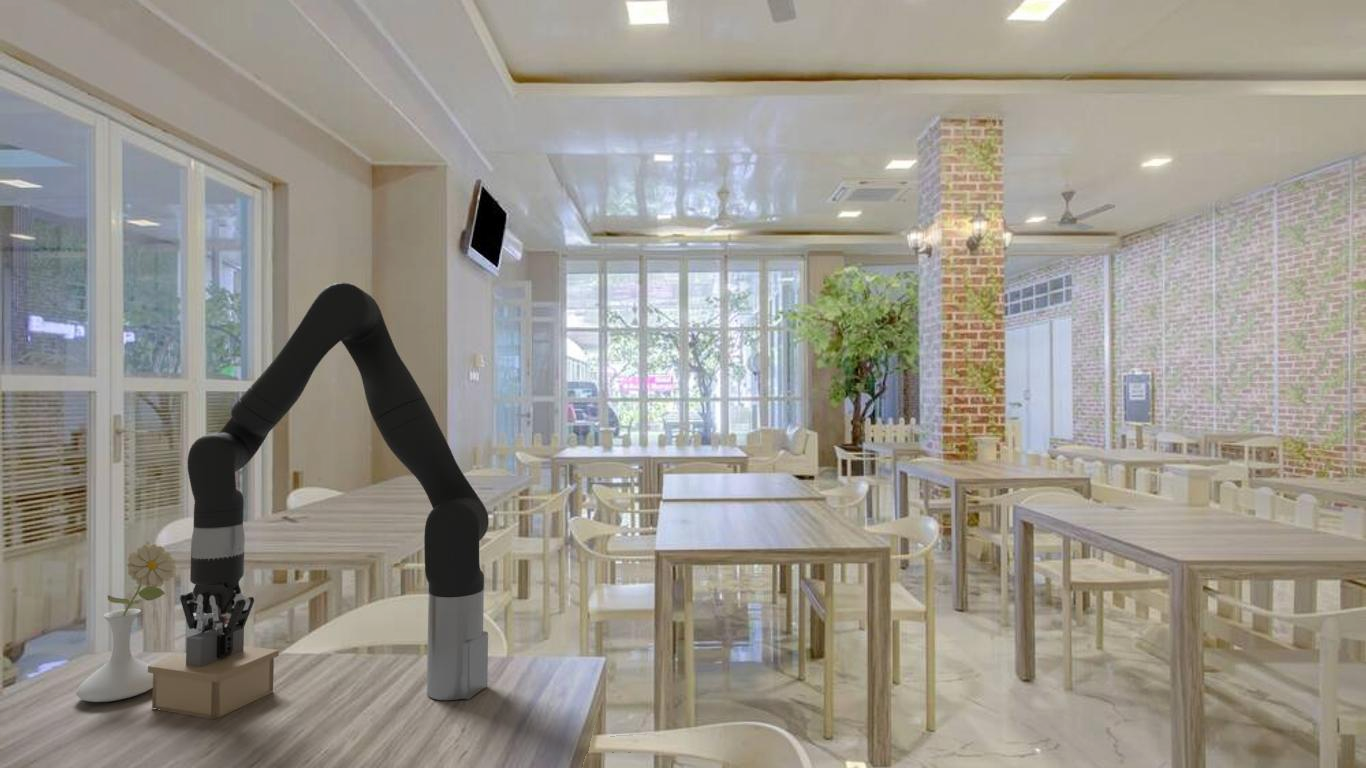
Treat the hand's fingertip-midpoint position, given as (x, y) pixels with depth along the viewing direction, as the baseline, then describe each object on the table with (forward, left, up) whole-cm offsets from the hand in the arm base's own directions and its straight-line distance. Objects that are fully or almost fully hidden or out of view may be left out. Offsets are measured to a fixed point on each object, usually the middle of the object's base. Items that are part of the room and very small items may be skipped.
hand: (215, 655), depth 118 cm
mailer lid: (0, 0, -1) cm, 1 cm away
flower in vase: (+17, +2, -8) cm, 19 cm away
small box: (+14, -12, -8) cm, 20 cm away
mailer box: (0, 0, -7) cm, 7 cm away
